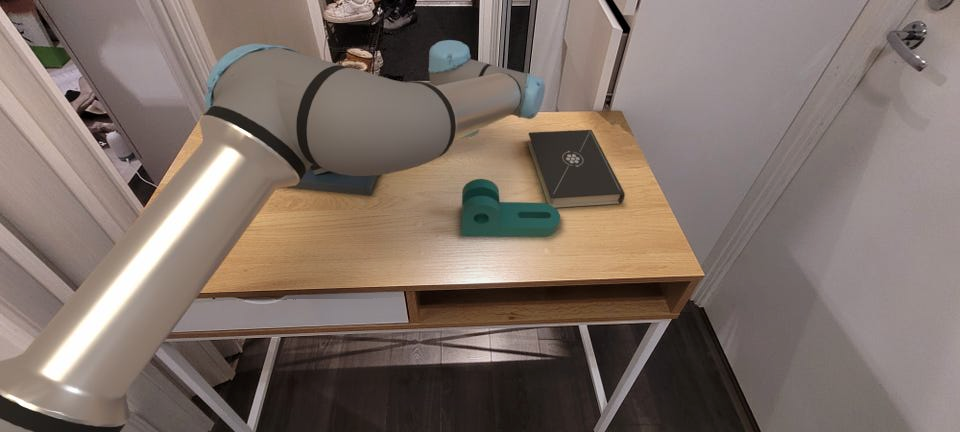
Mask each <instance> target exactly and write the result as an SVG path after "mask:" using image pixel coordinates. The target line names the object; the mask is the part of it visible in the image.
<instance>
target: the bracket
mask: <svg viewBox="0 0 960 432" xmlns="http://www.w3.org/2000/svg"><path fill="white" fill-rule="evenodd" d="M461 192H462V193H461V237H498V238H499V237H500V238H502V237H505V238H506V237H507V238H510V237H511V238H547V237H550V236H552V235H555V234H556V233H557V232H558V229H559V226H560V221H561V213H560V212H559V210H558V208H555V207H553V206H551V205H549V204H547V202H528V201H527V202H523V201H522V202H520V201H515V202H514V201H500V191H499V187H498V185H497V184H496V183H495V182H493V180H492V181H491V180H489V179H487V178H476V179H475V178H474V179H472V180H470V181H469V182H466V183H465V185H464V186H463V188H462V191H461Z"/></svg>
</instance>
